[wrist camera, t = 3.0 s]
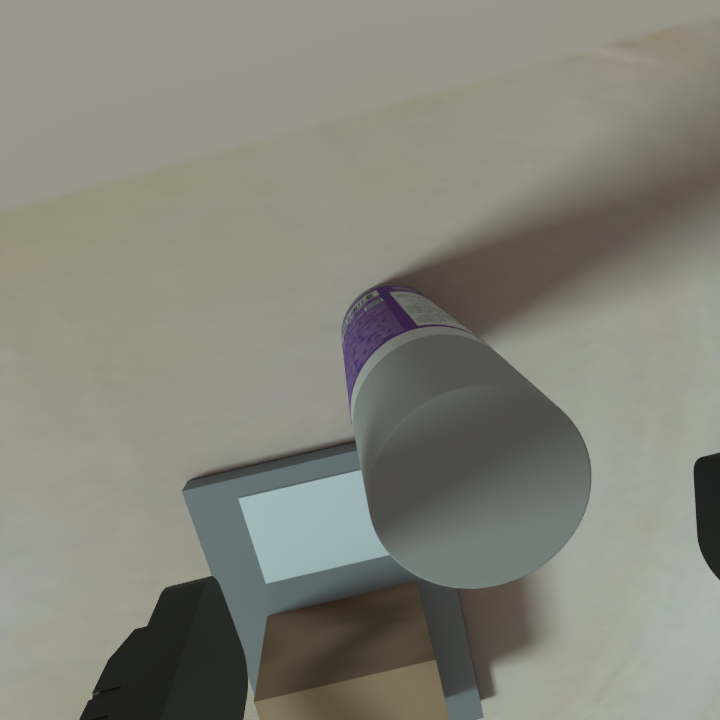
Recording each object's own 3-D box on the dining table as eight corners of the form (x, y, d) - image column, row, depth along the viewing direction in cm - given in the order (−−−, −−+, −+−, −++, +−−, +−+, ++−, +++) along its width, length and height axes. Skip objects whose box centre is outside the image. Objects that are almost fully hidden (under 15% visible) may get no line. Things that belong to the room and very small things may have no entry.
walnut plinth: (416, 581, 27) (435, 659, 22) (443, 698, 29) (466, 793, 24) (266, 616, 27) (253, 702, 22) (304, 731, 29) (300, 832, 24)
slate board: (421, 426, 26) (425, 435, 25) (478, 702, 31) (484, 719, 30) (187, 481, 26) (181, 492, 25) (281, 748, 31) (279, 767, 30)
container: (358, 392, 25) (400, 623, 11) (327, 301, 24) (327, 424, 10) (450, 362, 25) (618, 554, 11) (424, 269, 24) (572, 344, 9)
